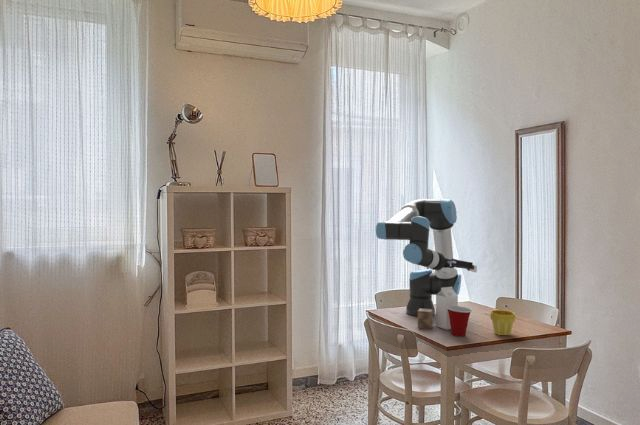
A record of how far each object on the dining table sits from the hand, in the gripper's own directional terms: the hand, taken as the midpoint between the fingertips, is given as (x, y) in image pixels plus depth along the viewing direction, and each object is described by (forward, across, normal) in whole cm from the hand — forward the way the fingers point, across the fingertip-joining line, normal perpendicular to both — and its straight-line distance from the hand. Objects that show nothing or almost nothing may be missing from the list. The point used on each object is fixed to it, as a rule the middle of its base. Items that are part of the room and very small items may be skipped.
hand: (462, 269), depth 208 cm
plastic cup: (+6, -4, -28) cm, 29 cm away
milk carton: (+12, -15, -25) cm, 32 cm away
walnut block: (+5, -22, -26) cm, 34 cm away
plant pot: (+22, +8, -25) cm, 34 cm away
